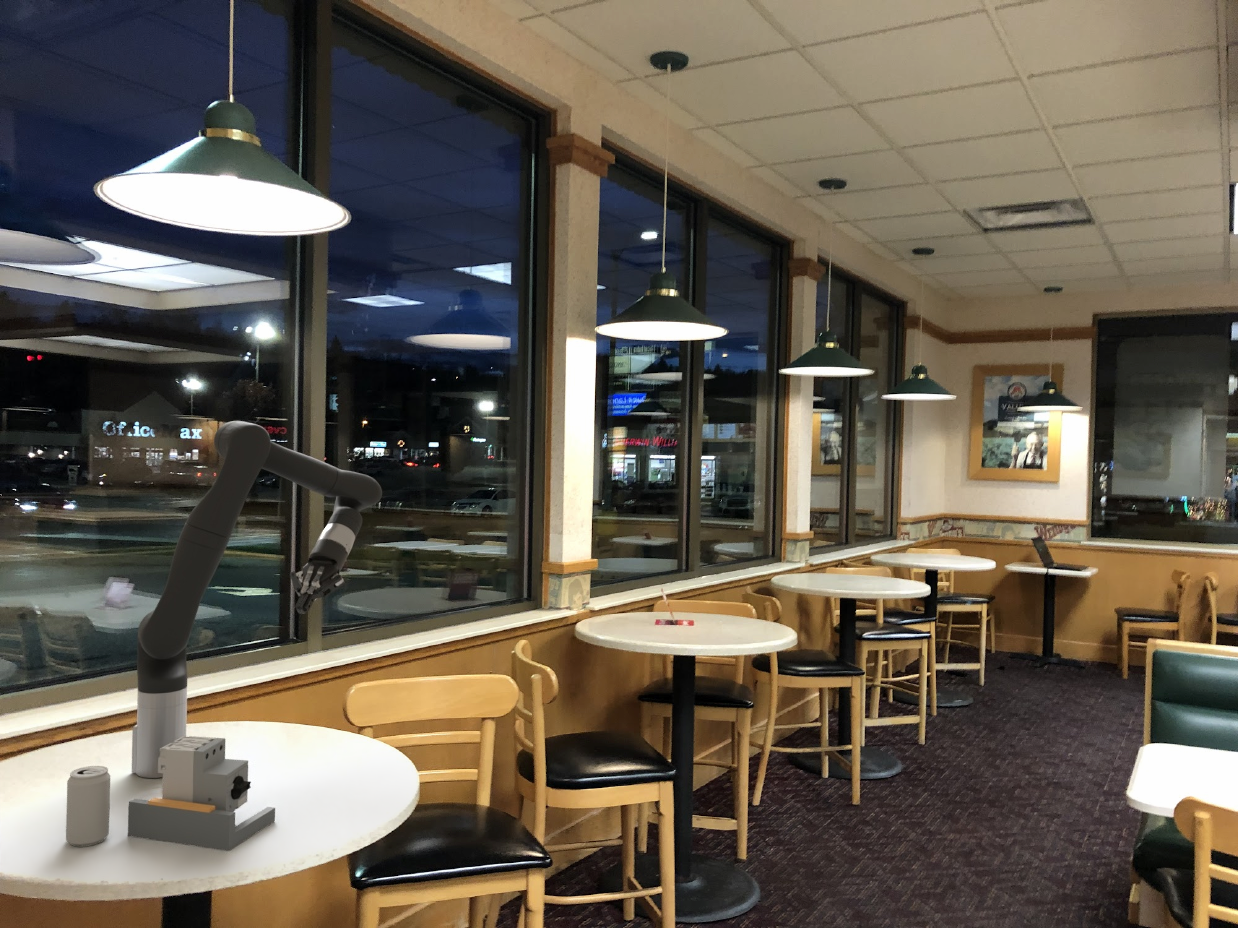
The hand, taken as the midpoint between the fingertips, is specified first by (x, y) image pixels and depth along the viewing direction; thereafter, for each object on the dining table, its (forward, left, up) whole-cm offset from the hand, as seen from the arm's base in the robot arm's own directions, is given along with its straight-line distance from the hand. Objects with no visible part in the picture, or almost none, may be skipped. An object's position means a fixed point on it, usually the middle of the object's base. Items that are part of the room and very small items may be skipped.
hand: (300, 611), depth 198 cm
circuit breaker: (+4, -34, -33) cm, 47 cm away
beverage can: (-12, -44, -33) cm, 56 cm away
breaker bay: (+3, -34, -33) cm, 47 cm away
